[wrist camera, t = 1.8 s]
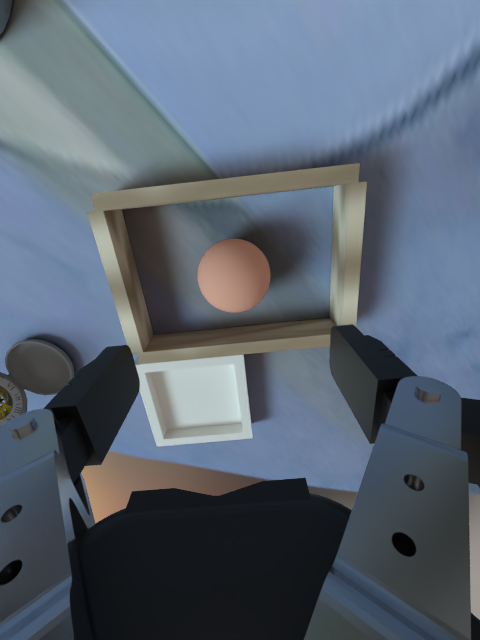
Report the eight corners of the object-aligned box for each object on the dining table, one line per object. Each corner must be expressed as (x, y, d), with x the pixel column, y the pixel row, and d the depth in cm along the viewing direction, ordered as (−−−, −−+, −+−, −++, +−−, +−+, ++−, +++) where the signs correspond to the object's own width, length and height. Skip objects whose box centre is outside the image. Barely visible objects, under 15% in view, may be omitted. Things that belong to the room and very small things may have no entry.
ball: (197, 238, 24) (185, 248, 19) (264, 231, 24) (272, 239, 18) (207, 301, 26) (199, 327, 21) (268, 295, 26) (277, 320, 21)
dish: (139, 353, 29) (132, 365, 27) (242, 343, 28) (243, 354, 26) (161, 431, 33) (157, 446, 31) (251, 423, 33) (252, 438, 31)
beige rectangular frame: (103, 195, 23) (81, 194, 19) (349, 168, 22) (368, 162, 19) (145, 346, 28) (133, 364, 25) (340, 327, 28) (354, 343, 24)
